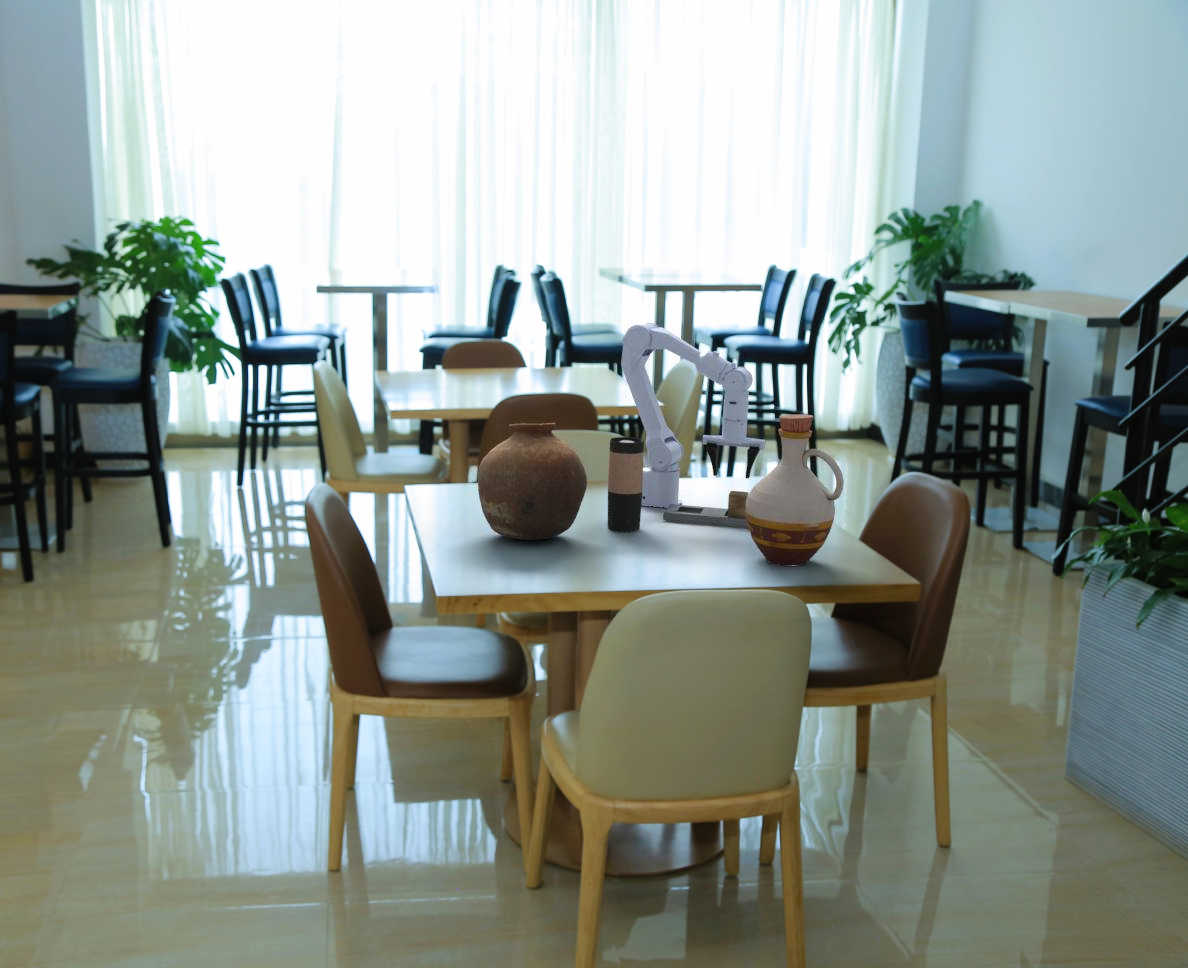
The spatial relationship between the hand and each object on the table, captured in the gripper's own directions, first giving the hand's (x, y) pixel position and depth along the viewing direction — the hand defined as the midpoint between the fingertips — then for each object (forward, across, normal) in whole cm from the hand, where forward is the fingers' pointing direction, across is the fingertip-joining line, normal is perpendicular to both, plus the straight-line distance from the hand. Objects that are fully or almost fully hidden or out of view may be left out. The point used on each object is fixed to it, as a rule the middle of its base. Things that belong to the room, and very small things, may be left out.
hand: (731, 476), depth 281 cm
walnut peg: (+9, +3, -9) cm, 13 cm away
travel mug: (+9, -20, -25) cm, 33 cm away
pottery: (+9, -37, -40) cm, 55 cm away
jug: (+9, +18, -39) cm, 44 cm away
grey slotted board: (+9, -2, -9) cm, 13 cm away
